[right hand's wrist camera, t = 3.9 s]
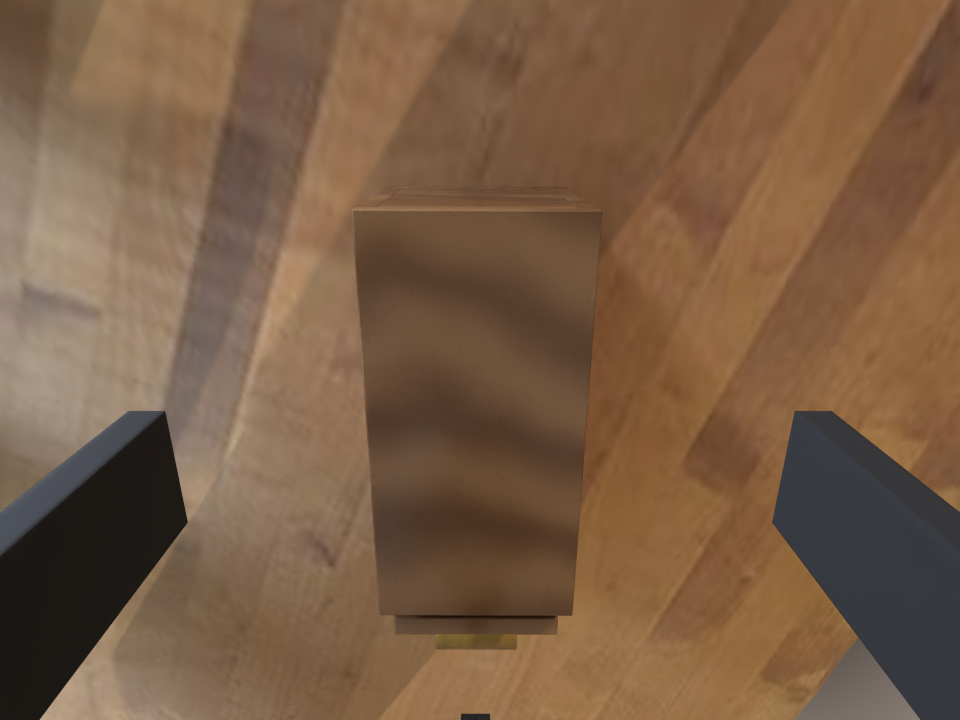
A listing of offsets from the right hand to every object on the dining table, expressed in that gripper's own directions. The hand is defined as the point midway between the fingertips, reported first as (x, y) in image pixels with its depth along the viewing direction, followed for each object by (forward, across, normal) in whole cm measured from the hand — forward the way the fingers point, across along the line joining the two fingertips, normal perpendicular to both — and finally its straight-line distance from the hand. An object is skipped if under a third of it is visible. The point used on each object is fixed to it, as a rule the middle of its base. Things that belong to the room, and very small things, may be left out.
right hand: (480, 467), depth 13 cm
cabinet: (+26, 0, -7) cm, 26 cm away
